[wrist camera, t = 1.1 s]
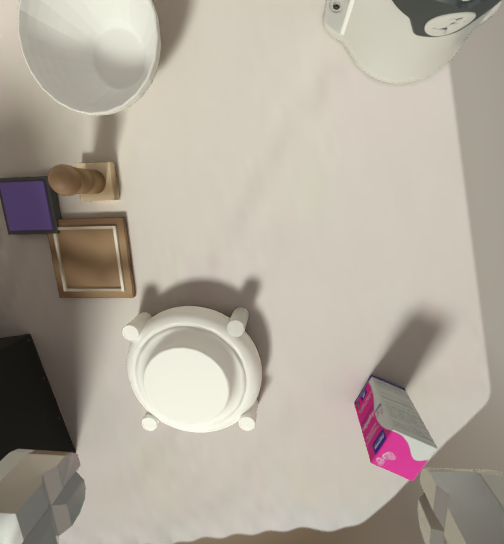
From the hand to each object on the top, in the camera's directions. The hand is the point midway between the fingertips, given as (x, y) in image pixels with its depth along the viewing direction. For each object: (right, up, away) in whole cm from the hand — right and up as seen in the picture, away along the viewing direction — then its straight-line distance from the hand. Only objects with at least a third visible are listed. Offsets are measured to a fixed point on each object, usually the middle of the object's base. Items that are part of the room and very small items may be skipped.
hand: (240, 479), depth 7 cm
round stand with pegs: (-8, -9, +43) cm, 45 cm away
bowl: (-17, +32, +33) cm, 49 cm away
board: (-24, +7, +40) cm, 47 cm away
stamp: (-21, +18, +37) cm, 46 cm away
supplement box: (+20, -14, +41) cm, 48 cm away
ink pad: (-32, +15, +39) cm, 53 cm away
